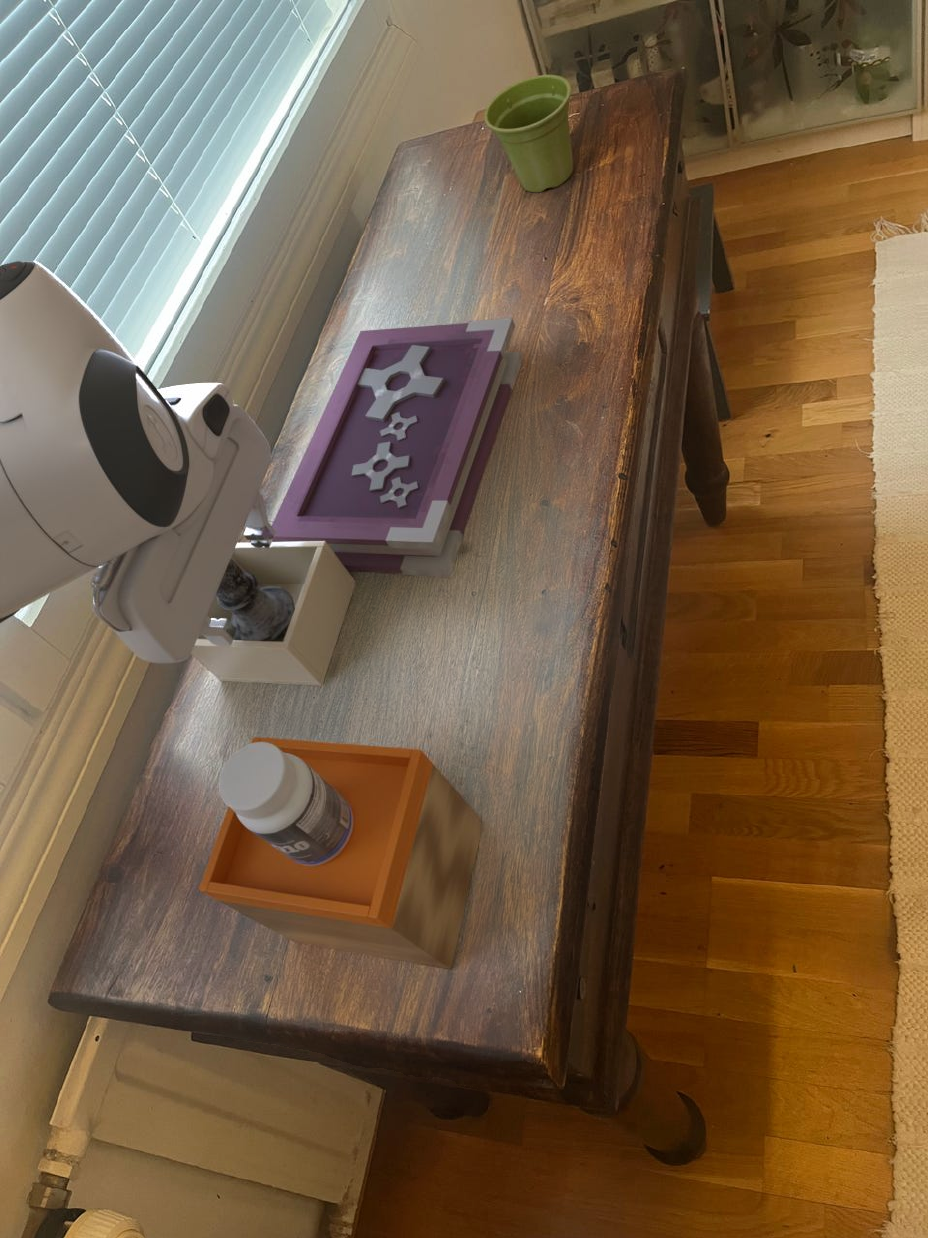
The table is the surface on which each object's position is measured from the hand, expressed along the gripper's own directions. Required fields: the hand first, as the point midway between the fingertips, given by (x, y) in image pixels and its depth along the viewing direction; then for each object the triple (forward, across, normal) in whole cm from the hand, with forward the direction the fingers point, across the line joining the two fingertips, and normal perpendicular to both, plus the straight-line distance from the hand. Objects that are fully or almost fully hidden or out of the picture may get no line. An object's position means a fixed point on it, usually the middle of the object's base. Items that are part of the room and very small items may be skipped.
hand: (247, 588), depth 75 cm
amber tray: (-3, -20, -16) cm, 25 cm away
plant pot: (+7, +60, -13) cm, 62 cm away
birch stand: (+7, -20, -16) cm, 26 cm away
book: (+7, +19, -7) cm, 21 cm away
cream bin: (+7, 0, 0) cm, 7 cm away
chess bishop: (+6, -1, 0) cm, 7 cm away
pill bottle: (-3, -20, -16) cm, 26 cm away
